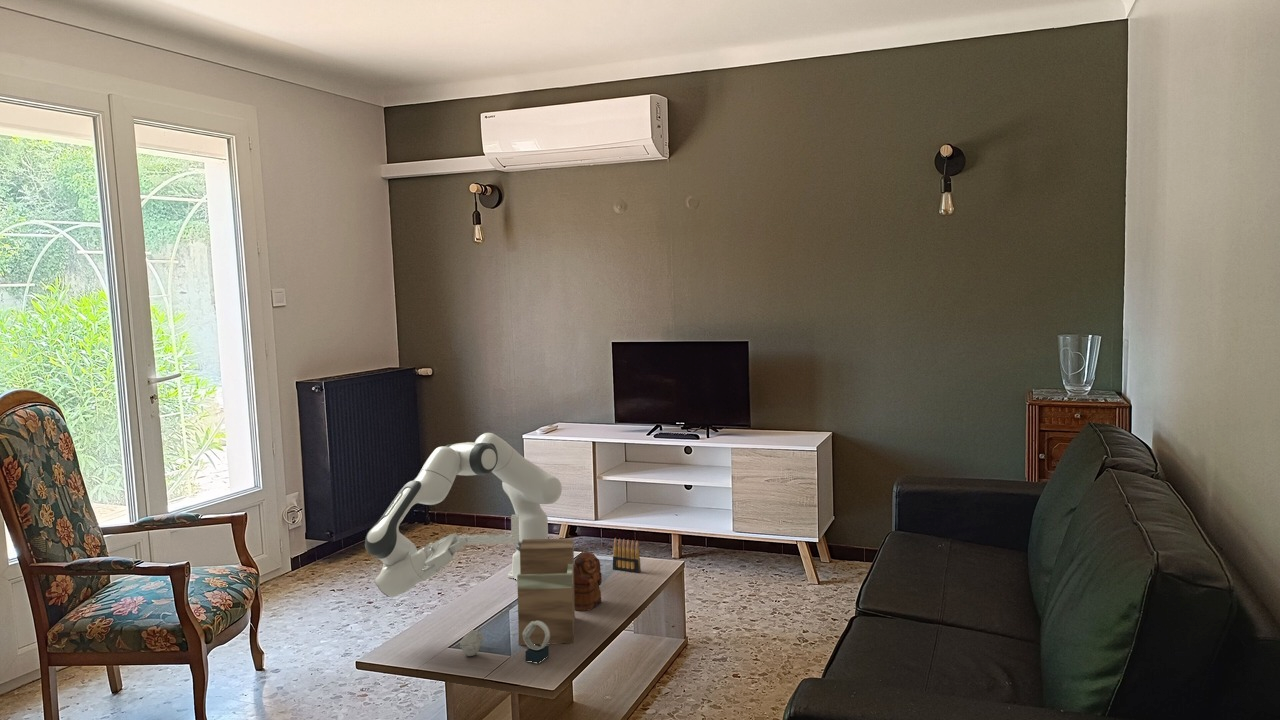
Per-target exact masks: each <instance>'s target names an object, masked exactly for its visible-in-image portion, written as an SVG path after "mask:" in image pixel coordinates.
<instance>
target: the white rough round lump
mask: <svg viewBox="0 0 1280 720" xmlns="http://www.w3.org/2000/svg"><path fill="white" fill-rule="evenodd" d="M483 640H484V634H483V633H482V632H481V631H478V630H475V629H471V630H470V631H469V632H468V633H466V634H465V635H464V636H463V637H462V638H461V640H460V642H459V645H460V648H461V651H462V653H463V654H464V655H465V656H467V657H473V656H475V655H477V654H478V652H479V650H480V647H481V646H482V643H483Z"/></svg>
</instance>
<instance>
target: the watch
mask: <svg viewBox="0 0 1280 720" xmlns="http://www.w3.org/2000/svg"><path fill="white" fill-rule="evenodd" d="M536 625H538V626H540V627H541V628H542V629H543V630H544V632H545V638H544V641H543V643H542V644H541V645H540V644H535V645H534V644H533V643H532V642H531V640H530V638H529V637H530V635H531V634H532V632H533V631H534V630H535V628H536ZM522 635H523V640H524V641H526V642H525V643H526V645H525V646H526V647H528V648H527V650H525V662H526V661H532V662H537V663H539V662H540V661H542V660H543V659H544V658H546V657H547V656H548V655H549V656H550V653H549V650H550V649H549V644H548V642H549V639H550V631H549V628H548V627H547V625H546V624H545V623H544V622H542V621H538V620H536V621H535V622H534V621H531V622H530V623H529V624H528V625H527V626H526V628H525V629H524V631H523V633H522ZM546 659H547V658H546Z"/></svg>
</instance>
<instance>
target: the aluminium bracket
mask: <svg viewBox="0 0 1280 720" xmlns="http://www.w3.org/2000/svg"><path fill="white" fill-rule="evenodd" d="M510 529H511V533H508V534H507V533H505V534H504V533H503V534H501V533H499V534H468V535H465V534H461V535H460V534H459V535H458V537H457V542H459V541H460V540H461V539H463V538H466V540H467V544H466V545H467V546H468V545H470V546H471V545H474V546H475V545H508V544H509V545H512V544H513V545H514V544H515V545H516V544H518V543H519V514H517V515H516V514H511V516H510ZM466 545H465V546H466Z"/></svg>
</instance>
